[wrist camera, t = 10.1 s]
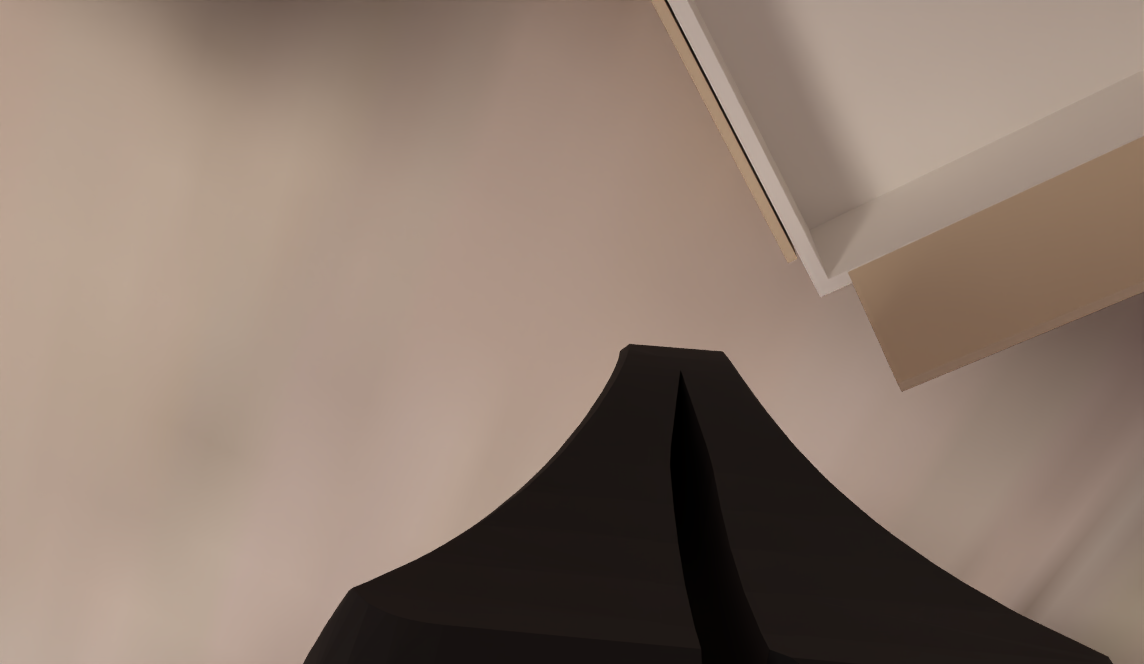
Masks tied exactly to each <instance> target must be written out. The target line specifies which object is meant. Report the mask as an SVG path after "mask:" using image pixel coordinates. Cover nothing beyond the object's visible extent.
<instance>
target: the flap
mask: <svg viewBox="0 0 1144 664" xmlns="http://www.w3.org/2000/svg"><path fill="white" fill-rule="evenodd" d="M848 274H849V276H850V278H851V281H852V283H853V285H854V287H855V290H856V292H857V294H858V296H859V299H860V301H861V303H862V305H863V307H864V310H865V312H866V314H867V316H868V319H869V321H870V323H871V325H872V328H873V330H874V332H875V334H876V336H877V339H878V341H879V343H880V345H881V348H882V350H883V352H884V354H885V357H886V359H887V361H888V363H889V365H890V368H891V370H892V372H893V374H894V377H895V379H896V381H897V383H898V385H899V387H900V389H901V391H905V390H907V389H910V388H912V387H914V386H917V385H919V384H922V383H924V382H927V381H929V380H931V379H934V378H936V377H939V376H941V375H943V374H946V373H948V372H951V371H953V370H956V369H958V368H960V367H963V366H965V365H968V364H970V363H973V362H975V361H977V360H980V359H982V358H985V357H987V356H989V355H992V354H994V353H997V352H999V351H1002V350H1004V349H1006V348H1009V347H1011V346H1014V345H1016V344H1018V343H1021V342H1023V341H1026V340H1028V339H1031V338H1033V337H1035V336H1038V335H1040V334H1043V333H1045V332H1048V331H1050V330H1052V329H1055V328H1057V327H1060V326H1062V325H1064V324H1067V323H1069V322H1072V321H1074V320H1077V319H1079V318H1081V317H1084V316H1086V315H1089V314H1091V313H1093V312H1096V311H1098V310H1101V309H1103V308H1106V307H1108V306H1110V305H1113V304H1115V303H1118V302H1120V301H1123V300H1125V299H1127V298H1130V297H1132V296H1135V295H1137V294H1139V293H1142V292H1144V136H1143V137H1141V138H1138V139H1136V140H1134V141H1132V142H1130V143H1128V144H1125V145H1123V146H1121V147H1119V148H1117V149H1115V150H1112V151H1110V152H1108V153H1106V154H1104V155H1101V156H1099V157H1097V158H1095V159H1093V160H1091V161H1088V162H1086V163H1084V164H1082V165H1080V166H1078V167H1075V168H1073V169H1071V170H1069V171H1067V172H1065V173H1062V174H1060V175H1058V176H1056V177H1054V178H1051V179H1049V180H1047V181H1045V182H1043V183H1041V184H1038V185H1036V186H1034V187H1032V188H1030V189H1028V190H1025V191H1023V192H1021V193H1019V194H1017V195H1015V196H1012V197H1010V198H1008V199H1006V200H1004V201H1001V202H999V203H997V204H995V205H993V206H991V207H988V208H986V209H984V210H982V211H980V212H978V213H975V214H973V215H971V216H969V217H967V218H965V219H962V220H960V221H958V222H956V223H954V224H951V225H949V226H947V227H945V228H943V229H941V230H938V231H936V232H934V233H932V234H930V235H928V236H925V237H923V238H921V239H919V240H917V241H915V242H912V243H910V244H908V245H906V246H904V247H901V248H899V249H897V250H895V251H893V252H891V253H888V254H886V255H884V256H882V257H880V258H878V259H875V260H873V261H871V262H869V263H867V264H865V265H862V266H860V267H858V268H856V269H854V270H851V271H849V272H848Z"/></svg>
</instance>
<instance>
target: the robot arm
mask: <svg viewBox="0 0 1144 664" xmlns="http://www.w3.org/2000/svg"><path fill="white" fill-rule="evenodd" d="M303 664H1113V663H1112V662H1111V660H1110V659H1109V657H1108V656H1106V655H1103V654H1101V653H1099V652H1097V651H1095V650H1093V649H1091V648H1089V647H1087V646H1085V645H1083V644H1081V643H1078V642H1076V641H1074V640H1072V639H1070V638H1068V637H1066V636H1064V635H1062V634H1060V633H1058V632H1055V631H1053V630H1051V629H1049V628H1047V627H1045V626H1043V625H1041V624H1039V623H1037V622H1035V621H1033V620H1030V619H1028V618H1026V617H1024V616H1022V615H1020V614H1018V613H1016V612H1015V611H1013V610H1011V609H1009V608H1007V607H1005V606H1004V605H1002V604H1000V603H998V602H997V601H995V600H993V599H992V598H990V597H988V596H986V595H985V594H983V593H981V592H979V591H978V590H976V589H974V588H972V587H971V586H969V585H967V584H965V583H964V582H962V581H960V580H959V579H957V578H956V577H954V576H953V575H951V574H949V573H948V572H946V571H945V570H943V569H941V568H940V567H938V566H937V565H935V564H934V563H932V562H931V561H929V560H928V559H926V558H925V557H923V556H922V555H921V554H919V553H918V552H916V551H915V550H914V549H912V548H911V547H909V546H908V545H906V544H905V543H904V542H902V541H901V540H899V539H898V538H896V537H895V536H894V535H892V534H891V533H890V532H888V531H887V530H886V529H885V528H883V527H882V526H881V525H879V524H878V523H877V522H875V521H874V520H873V519H872V518H870V517H869V516H868V515H867V514H866V513H865V512H863V511H862V510H861V509H860V508H859V507H858V506H856V505H855V504H854V503H853V502H852V501H851V500H849V499H848V498H847V497H846V496H845V495H844V494H842V493H841V492H840V491H839V490H838V489H837V488H836V487H835V486H834V485H833V484H832V483H830V482H829V481H828V480H827V479H826V478H825V477H824V476H823V475H822V474H821V473H820V472H819V471H818V470H817V469H816V468H815V467H814V466H813V465H812V464H811V462H810V461H809V460H808V459H807V458H806V457H805V456H804V455H803V454H802V453H801V452H800V451H799V450H798V449H797V448H796V447H795V445H794V444H793V443H792V442H791V441H790V440H789V438H788V437H787V436H786V435H785V433H784V432H783V431H782V430H781V429H780V427H779V426H778V425H777V424H776V423H775V421H774V420H773V419H772V418H771V416H770V415H769V414H768V413H767V411H766V410H765V409H764V407H763V406H762V405H761V403H760V402H759V401H758V399H757V398H756V397H755V395H754V394H753V393H752V391H751V390H750V388H749V387H748V386H747V384H746V383H745V381H744V380H743V379H742V377H741V376H740V374H739V373H738V371H737V370H736V368H735V367H734V366H733V364H732V363H731V361H730V360H729V359H728V357H727V356H726V355H725V354H724V352H721V351H709V350H697V349H684V348H672V347H660V346H647V345H635V344H629V345H628V346H626V347H625V348H624V349H622V350H621V351H620V354H619V359H618V361H617V364H616V367H615V369H614V371H613V373H612V375H611V377H610V379H609V381H608V382H607V384H606V386H605V388H604V390H603V391H602V393H601V394H600V396H599V397H598V399H597V400H596V402H595V403H594V405H593V406H592V408H591V409H590V411H589V412H588V414H587V415H586V417H585V418H584V419H583V421H582V422H581V424H580V425H579V426H578V427H577V428H576V430H575V431H574V432H573V433H572V435H571V436H570V437H569V438H568V439H567V441H566V442H565V443H564V444H563V446H562V447H561V448H560V449H559V451H558V452H557V453H556V454H555V455H554V456H553V457H552V458H551V459H550V460H549V461H548V463H547V464H546V465H545V466H544V467H543V468H542V469H541V470H540V471H539V472H538V473H537V474H536V475H535V476H534V477H533V478H531V479H530V480H529V481H528V482H527V483H526V484H525V485H524V486H523V487H522V488H521V489H520V490H519V491H517V492H516V493H515V494H514V495H513V496H511V497H510V498H509V499H508V500H506V501H505V502H504V503H503V504H502V505H500V506H499V507H498V508H497V509H496V510H494V511H493V512H492V513H491V514H489V515H488V516H487V517H485V518H484V519H483V520H481V521H480V522H478V523H477V524H476V525H474V526H473V527H471V528H470V529H468V530H467V531H465V532H463V533H462V534H460V535H459V536H457V537H455V538H454V539H452V540H451V541H449V542H447V543H446V544H444V545H442V546H441V547H439V548H437V549H435V550H434V551H432V552H430V553H428V554H426V555H424V556H422V557H420V558H418V559H417V560H414V561H412V562H410V563H408V564H406V565H403V566H401V567H399V568H397V569H395V570H392V571H390V572H388V573H386V574H384V575H382V576H379V577H377V578H375V579H373V580H371V581H368V582H366V583H363V584H361V585H358V586H356V587H353V588H352V589H351V590H349V591H348V593H347V594H346V596H345V597H344V598H343V600H342V601H341V603H340V604H339V606H338V607H337V609H336V610H335V612H334V613H333V615H332V616H331V618H330V619H329V621H328V622H327V624H326V625H325V627H324V629H323V630H322V632H321V634H320V636H319V637H318V639H317V641H316V642H315V644H314V646H313V647H312V649H311V650H310V652H309V654H308V656H307V657H306V659H305V661H304V663H303Z"/></svg>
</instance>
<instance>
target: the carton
mask: <svg viewBox="0 0 1144 664" xmlns="http://www.w3.org/2000/svg"><path fill="white" fill-rule="evenodd" d="M651 1H652V3H653V5H654V7H655V9H656V11H657V13H658V15H659V17H660V19H661V21H662V23H663V24H664V26H665V28H666V30H667V32H668V34H669V36H670V38H671V40H672V42H673V44H674V46H675V47H676V49H677V51H678V53H679V55H680V57H681V59H682V61H683V63H684V65H685V67H686V69H687V70H688V72H689V74H690V76H691V78H692V80H693V82H694V84H695V86H696V88H697V90H698V91H699V93H700V95H701V97H702V99H703V101H704V103H705V105H706V107H707V109H708V111H709V113H710V114H711V116H712V118H713V120H714V122H715V124H716V126H717V128H718V130H719V132H720V134H721V136H722V137H723V139H724V141H725V143H726V145H727V147H728V149H729V151H730V153H731V155H732V157H733V159H734V160H735V162H736V164H737V166H738V168H739V170H740V172H741V174H742V176H743V178H744V180H745V182H746V183H747V185H748V187H749V189H750V191H751V193H752V195H753V197H754V199H755V201H756V203H757V205H758V206H759V208H760V210H761V212H762V214H763V216H764V218H765V220H766V222H767V224H768V226H769V227H770V229H771V231H772V233H773V235H774V237H775V239H776V241H777V243H778V245H779V247H780V249H781V250H782V252H783V254H784V256H785V258H786V260H787V262H788V263H789V262H792V261H794V260H796V259H797V256H796V253H795V250H794V247H795V249H796V251H797V253H798V255H799V257H800V259H801V261H802V263H803V265H804V267H805V269H806V271H807V272H808V274H809V276H810V278H811V280H812V282H813V284H814V286H815V288H816V290H817V292H818V294H819V296H820V298H821V297H823V296H825V295H827V294H829V293H832V292H834V291H836V290H838V289H840V288H843V287H845V286H847V285H849V284H851V283H852V281H851V278H850V276H849V274H848V272H849V271H851V270H854V269H856V268H858V267H860V266H862V265H865V264H867V263H869V262H871V261H873V260H875V259H878V258H880V257H882V256H884V255H886V254H888V253H891V252H893V251H895V250H897V249H899V248H901V247H904V246H906V245H908V244H910V243H912V242H915V241H917V240H919V239H921V238H923V237H925V236H928V235H930V234H932V233H934V232H936V231H938V230H941V229H943V228H945V227H947V226H949V225H951V224H954V223H956V222H958V221H960V220H962V219H965V218H967V217H969V216H971V215H973V214H975V213H978V212H980V211H982V210H984V209H986V208H988V207H991V206H993V205H995V204H997V203H999V202H1001V201H1004V200H1006V199H1008V198H1010V197H1012V196H1015V195H1017V194H1019V193H1021V192H1023V191H1025V190H1028V189H1030V188H1032V187H1034V186H1036V185H1038V184H1041V183H1043V182H1045V181H1047V180H1049V179H1051V178H1054V177H1056V176H1058V175H1060V174H1062V173H1065V172H1067V171H1069V170H1071V169H1073V168H1075V167H1078V166H1080V165H1082V164H1084V163H1086V162H1088V161H1091V160H1093V159H1095V158H1097V157H1099V156H1101V155H1104V154H1106V153H1108V152H1110V151H1112V150H1115V149H1117V148H1119V147H1121V146H1123V145H1125V144H1128V143H1130V142H1132V141H1134V140H1136V139H1138V138H1141V137H1143V136H1144V0H651ZM792 243H793V244H792ZM793 245H794V247H793Z"/></svg>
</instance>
